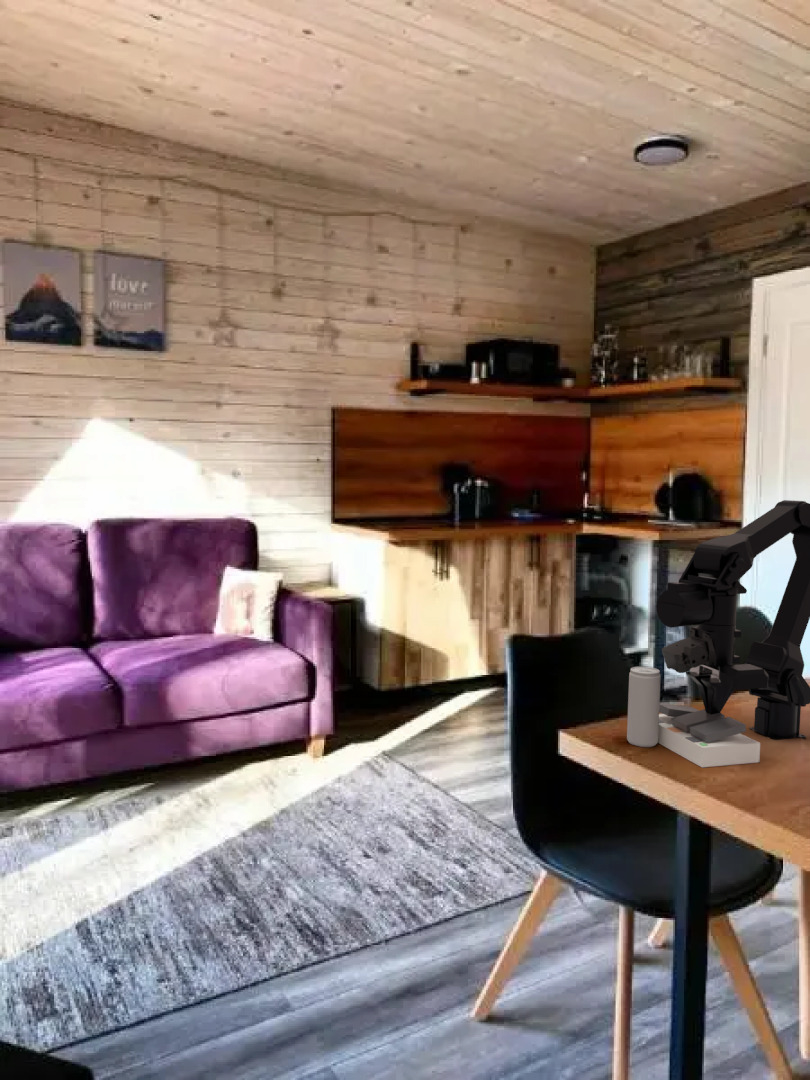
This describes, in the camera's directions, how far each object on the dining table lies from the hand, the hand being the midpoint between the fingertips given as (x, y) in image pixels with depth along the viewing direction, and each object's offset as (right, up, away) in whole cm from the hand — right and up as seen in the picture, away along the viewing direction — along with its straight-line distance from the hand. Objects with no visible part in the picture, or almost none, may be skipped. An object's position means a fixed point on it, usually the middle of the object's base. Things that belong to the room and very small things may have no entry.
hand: (711, 719), depth 136 cm
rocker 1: (-4, 0, +4) cm, 6 cm away
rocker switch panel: (-2, -4, 0) cm, 5 cm away
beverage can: (-11, -4, +1) cm, 12 cm away
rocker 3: (-1, 0, -5) cm, 6 cm away
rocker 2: (-2, 0, -1) cm, 2 cm away
